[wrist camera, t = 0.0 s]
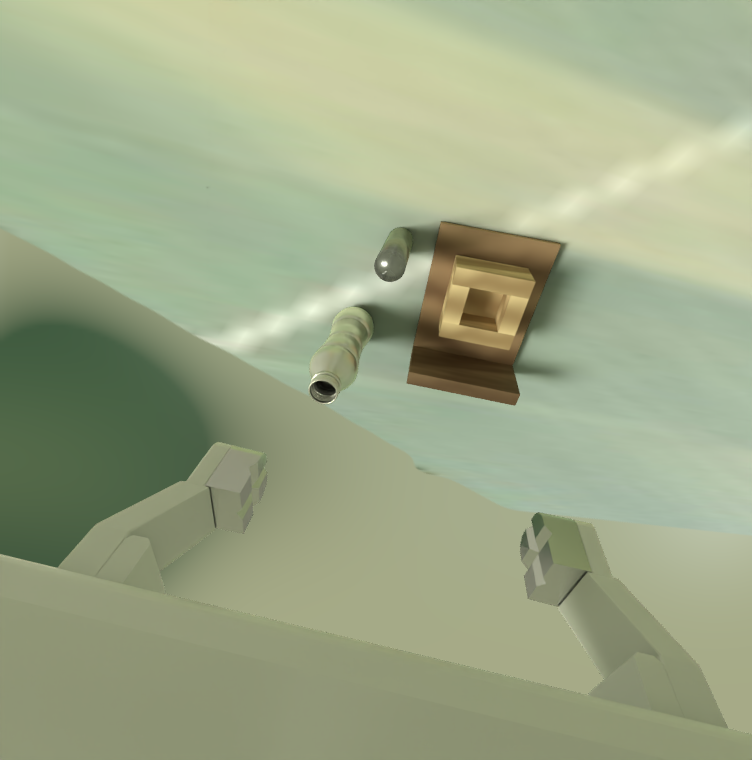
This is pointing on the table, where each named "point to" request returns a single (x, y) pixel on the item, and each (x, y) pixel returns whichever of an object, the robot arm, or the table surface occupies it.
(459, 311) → the tan square frame
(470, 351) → the jig
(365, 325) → the plastic bottle
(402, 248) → the dowel
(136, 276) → the table surface
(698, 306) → the table surface
